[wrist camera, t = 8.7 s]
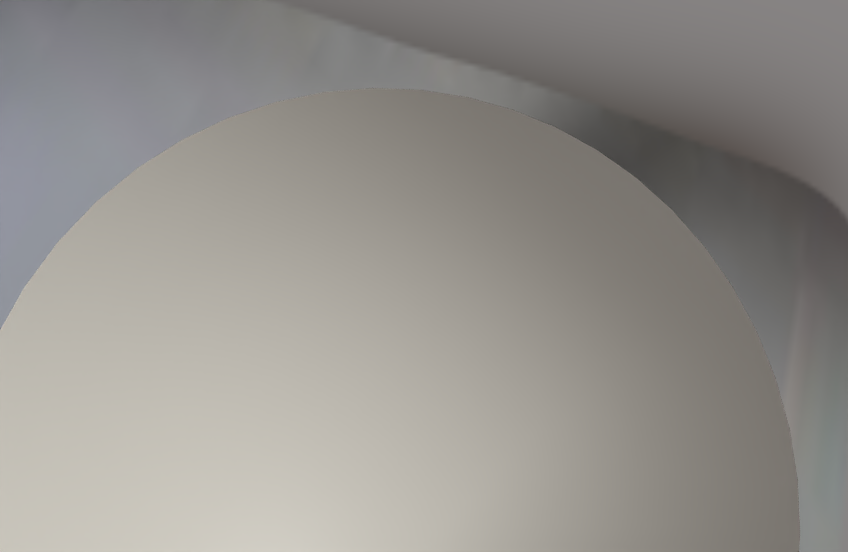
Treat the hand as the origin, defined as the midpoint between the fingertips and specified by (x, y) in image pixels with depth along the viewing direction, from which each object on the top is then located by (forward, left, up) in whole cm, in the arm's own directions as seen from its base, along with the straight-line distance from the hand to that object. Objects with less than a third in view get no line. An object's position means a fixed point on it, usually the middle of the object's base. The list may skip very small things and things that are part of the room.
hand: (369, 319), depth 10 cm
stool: (+1, -2, -5) cm, 5 cm away
